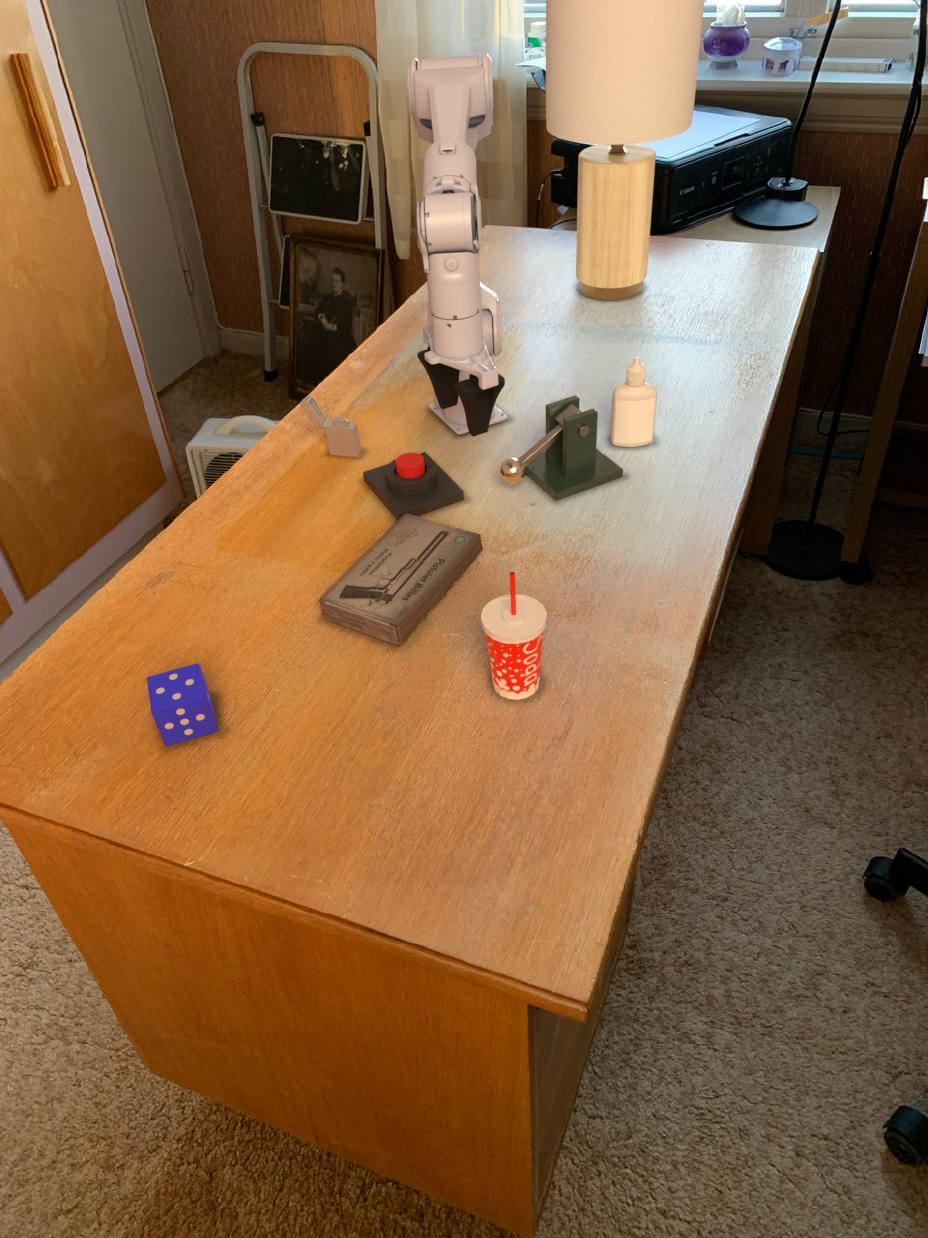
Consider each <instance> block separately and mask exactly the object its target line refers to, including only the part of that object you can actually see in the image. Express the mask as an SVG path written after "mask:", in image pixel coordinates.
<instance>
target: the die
mask: <svg viewBox="0 0 928 1238" xmlns="http://www.w3.org/2000/svg"><path fill="white" fill-rule="evenodd" d="M200 665H201V664H200V663H199V662H196V663H193V664H189V665H185V666H181V667H178V668H174V669H170V670H168V671H164V672H160V673H157V674H153V675H150V676H147V677H146V683H147V690H148V698H149V705H150V713H151V714H152V717H153V720H154V722H155V724H156V727H157V729H158V731H159V734H160V736H161V738H162V740H163V743H164V745H165V746H166V747H169V746H173V745H175V744H180V743H183V742H186V741H189V740H193V739H196V738H200V737H204V736H206V735H209V734H210V735H211V734H214V733H216V732H218V731H219V729H218V723H217V719H216V715H215V710H214V704H213V700H212V696H211V692H210V689H209V687H208V685H207V681H206V679H205V676H204V674H203V670H202V667H201V666H200Z"/></svg>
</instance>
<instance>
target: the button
mask: <svg viewBox="0 0 928 1238" xmlns="http://www.w3.org/2000/svg"><path fill="white" fill-rule="evenodd" d="M395 459H396V460H395ZM395 459H394V460H395V463H396V471H397V475H398V476H399V477H402V478H416V477H419V476H422V475H423V474H424V473H425V464H424V457H423V456H422V455H421V454H420V452H414V451H413V452H409V451H408V452H405V453H401V454H400V455H398V456H397V457H396V458H395Z"/></svg>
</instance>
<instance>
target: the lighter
mask: <svg viewBox="0 0 928 1238" xmlns="http://www.w3.org/2000/svg"><path fill="white" fill-rule="evenodd" d="M299 406H300V408H301V410H303V412H304V413H305V415H306V416H307V418H308V419H309V421H310V423H311V424H312V426H313V427H314V429H315V430H319V429H321V428H324V432H325V436H326V443H327V447H328V453H329V455H330V456H339V457H349V458H358V457H359V456H360V454H361V452H362V448H361V441H360V434H359V427H358V423H357V422H351V421H350V420H349V419H348V418H347V417H346V416H337V415H334V416H333V418H331V420H329V418H328V417H327V415H326V414H325V412H324V411H323V410H322V407H321V406H320V405H319V403H318V402H317V400H316V398H315V397H314V395H311V394H310V395H308V396H306V397H304V398H303V399H302V400H301V401H300V403H299Z"/></svg>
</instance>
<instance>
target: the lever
mask: <svg viewBox="0 0 928 1238" xmlns="http://www.w3.org/2000/svg"><path fill="white" fill-rule="evenodd" d="M581 412H582V410H580V408H579V409H578V408H576V407H575V406H574V405H572V404H571V405H570V406H568V407H567V408H566V409H565V410H564V411H563V412H561V413H560V414H559V415H558V416H557V417H556V418H555V420H556V422H557V424H558V425H557V426H556V427H555V428H554V429H553V430H551V431H550V432H549V433H548V434H547V435H546V434H545V436H544V435H543V437H542V438H541V439H539V441H537V442H536V443H535V444H534V445H532V446H531V447H530V448H529V449H528V450H527V451H526V452H524V453H523V454H522V455H521V456H520V457H518V458H516V457H510V458H507V459H505V460H504V461H502V463H501V464H500V467H499V476H500V478H501V479H502V480H503V481H504V482H505V483H507V484H510V485H515V484H518V483H520V482H521V481H522V480H524V478H525V476H526V474H525V473H526V469H525V468H526V467H527V466H528V465H529V464H530V463H531V462H533V461H534V460H535V459H536V458H537V457H538V456H540V455H541V454H542V453H543V452H546V450H547V449H548V448H549V447H550V446H551V445H553V444H554V443H555V442H556V441H557V440H558V439H560V438H561V437H562V436H563V418H566V417H569V416H572V415H575V414H578V413H581Z"/></svg>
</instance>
